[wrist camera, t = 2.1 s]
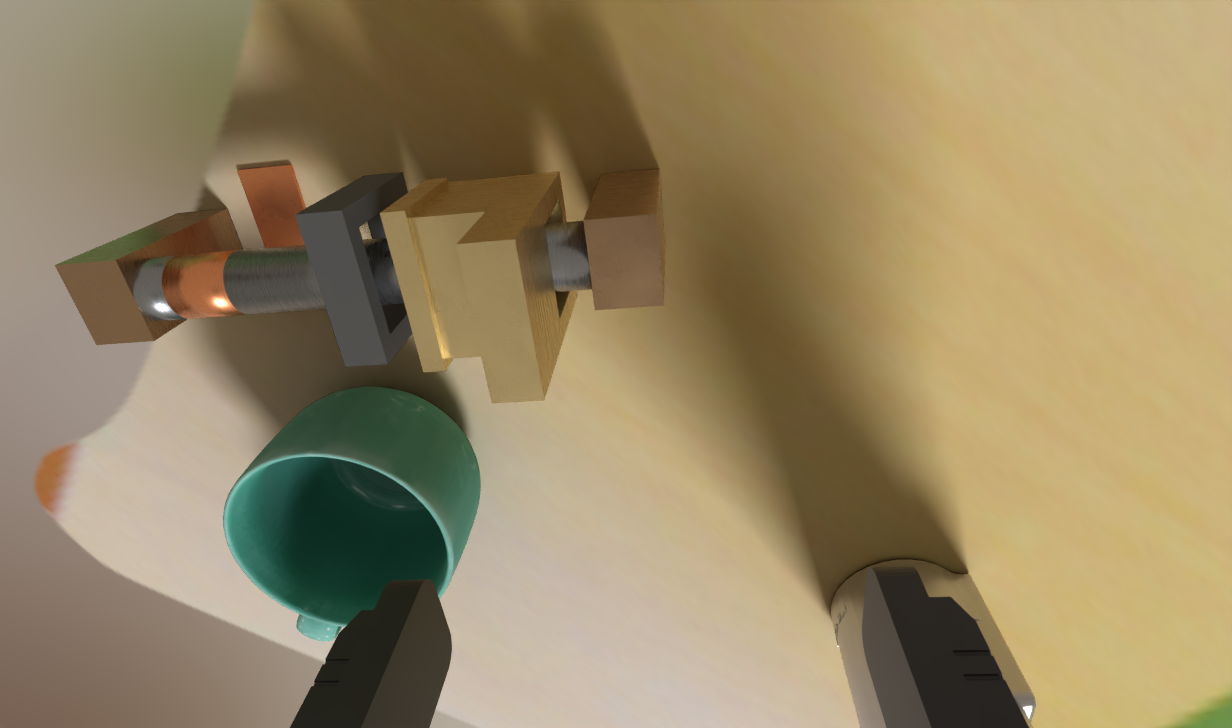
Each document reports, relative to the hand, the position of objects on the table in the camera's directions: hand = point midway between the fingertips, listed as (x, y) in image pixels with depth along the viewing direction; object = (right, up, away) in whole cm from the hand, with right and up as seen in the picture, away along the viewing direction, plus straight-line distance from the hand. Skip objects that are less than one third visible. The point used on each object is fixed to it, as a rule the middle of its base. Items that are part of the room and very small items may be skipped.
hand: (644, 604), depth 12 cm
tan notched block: (-6, +10, +20) cm, 24 cm away
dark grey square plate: (-12, +11, +22) cm, 27 cm away
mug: (-16, -2, +33) cm, 36 cm away
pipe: (-11, +12, +24) cm, 29 cm away
